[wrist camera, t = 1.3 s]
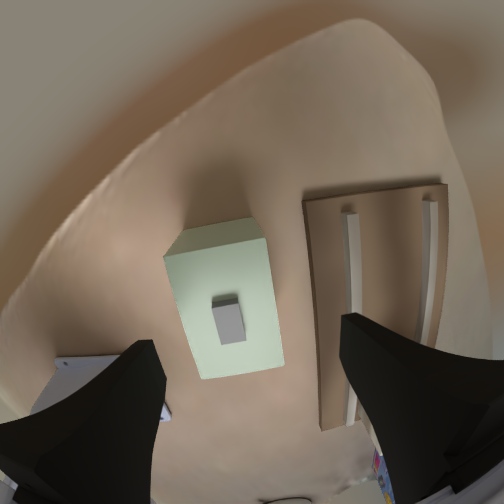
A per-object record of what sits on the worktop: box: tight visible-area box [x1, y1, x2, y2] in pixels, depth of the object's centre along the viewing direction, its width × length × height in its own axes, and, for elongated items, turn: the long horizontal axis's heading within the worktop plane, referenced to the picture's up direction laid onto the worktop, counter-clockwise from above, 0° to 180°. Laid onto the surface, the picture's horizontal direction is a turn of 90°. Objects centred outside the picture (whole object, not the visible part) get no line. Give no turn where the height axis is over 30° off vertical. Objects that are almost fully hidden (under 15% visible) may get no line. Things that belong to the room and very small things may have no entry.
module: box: [163, 217, 285, 379], centre depth 15 cm, size 4×7×7 cm, turn 10°
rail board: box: [302, 183, 449, 456], centre depth 17 cm, size 12×22×8 cm, turn 10°
